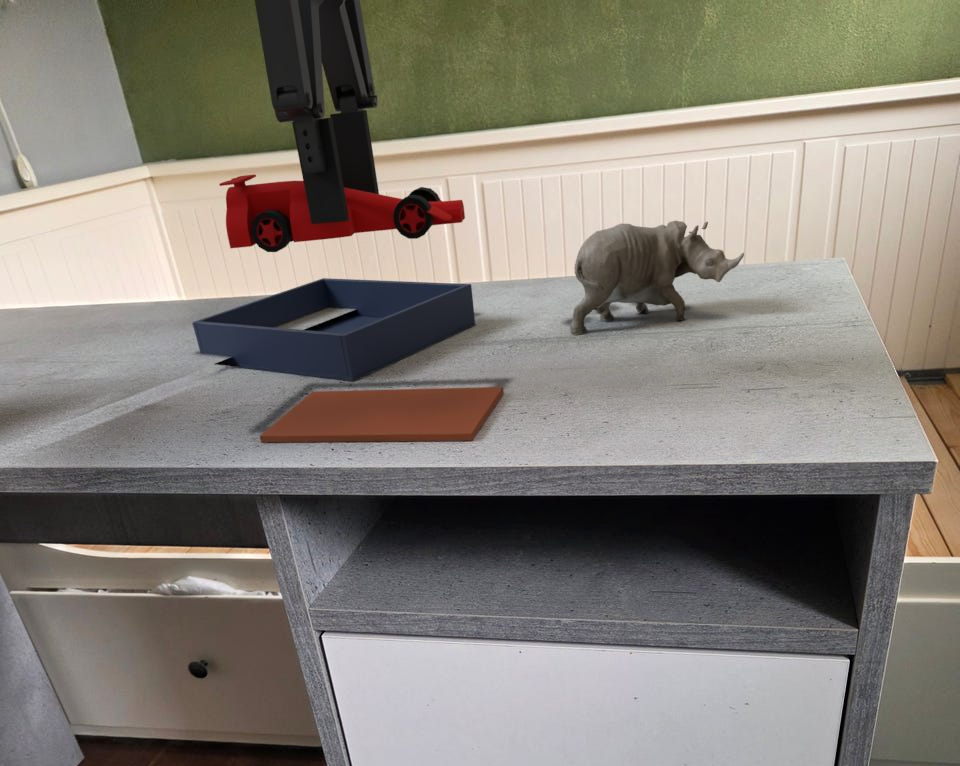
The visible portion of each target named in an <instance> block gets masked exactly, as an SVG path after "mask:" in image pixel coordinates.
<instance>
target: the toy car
mask: <svg viewBox="0 0 960 766" xmlns="http://www.w3.org/2000/svg"><path fill="white" fill-rule="evenodd" d="M256 177H257V174H245V175H239V176H236V177H233V178H231V179H230V180H225V181H223V182H219V183H218V185H219V186H221V187H222V186H229V187H228V188H227V191H226V193H225V205H226V206H225V207H226V214H225V226H226V227H225V228H226V235H227V239H228V244H229V248H230V249H238V248H250V247H253V246H255V245H257V246H258V248H260V249H261V250H263V251H265V252H267V253H277V252H279V251H281V250H284V249H285V248H287V246H288V245H289V244H290V243H292V242H293V243H302V242H311V241H321V240H330V239H331V240H332V239H340V238H348V237H352V236H353V235H354V234H361V233H370V232H380V231H389V230H390V231H391V230H397V232H398V233H399V234H400V235H401V236H402V237H405V238H406V239H408V240H411V239H412V240H413V239H414V240H416V239H417V240H418V239H420V238H421V237H424V236H425V234H427V232H428V231H429V230H430V229H431V228H432V226H439V225H450V224H451V225H452V224H459V223H460V224H461V223H463V221H464V220H465V219H466V213H465V205H464V202H463V201H464V200H463V199H454V200H444V201H443V200H442V199H441V198H440V196H439V194H438V193H437V192H436V191H434V190H433V189H432V188H431V187H426V186H425V187H424V186H420V187H418V188H415V189H414V190H412V191H410V193H409V195H407V196H405V197H404V198H399V197H394V196H389V195H384V194H380V193H379V194H375V193H370V192H365V191H360V190H355V189H350V188H345V187H344V192H345V198H346V203H347V209H348V215H349V220H347V221H344V222H332V223H319V224H311V218H310V213H309V208H308V203H307V197H306V192H305V187H304V182H303V180H285V181H274V182H273V181H272V182H266V183H264V182H263V183H255V184H246V182H249V181H250V180H252V179H254V178H256ZM230 185H231V186H230ZM232 185H233V186H232Z"/></svg>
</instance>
